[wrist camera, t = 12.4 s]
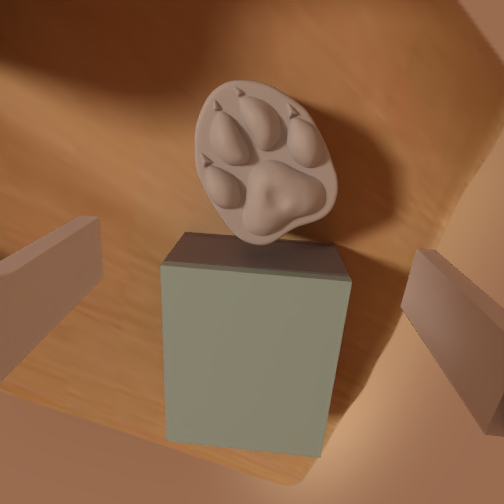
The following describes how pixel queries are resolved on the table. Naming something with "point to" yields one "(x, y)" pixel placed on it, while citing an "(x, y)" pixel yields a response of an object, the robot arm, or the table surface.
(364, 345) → the table surface
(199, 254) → the storage box
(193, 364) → the lid
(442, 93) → the table surface
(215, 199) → the lumpy-topped squat cylinder
